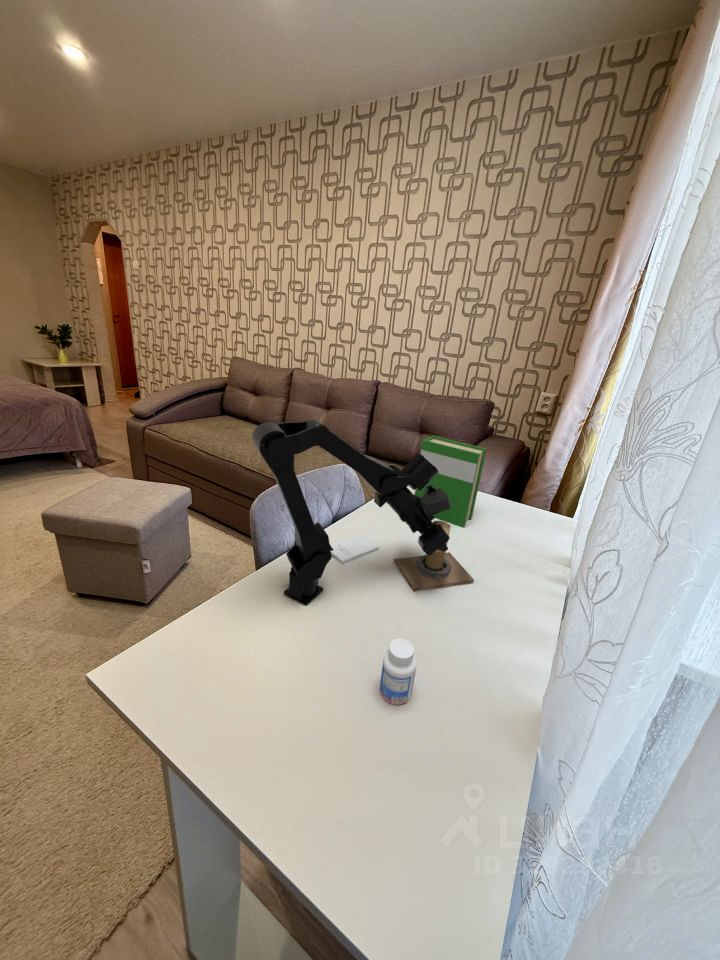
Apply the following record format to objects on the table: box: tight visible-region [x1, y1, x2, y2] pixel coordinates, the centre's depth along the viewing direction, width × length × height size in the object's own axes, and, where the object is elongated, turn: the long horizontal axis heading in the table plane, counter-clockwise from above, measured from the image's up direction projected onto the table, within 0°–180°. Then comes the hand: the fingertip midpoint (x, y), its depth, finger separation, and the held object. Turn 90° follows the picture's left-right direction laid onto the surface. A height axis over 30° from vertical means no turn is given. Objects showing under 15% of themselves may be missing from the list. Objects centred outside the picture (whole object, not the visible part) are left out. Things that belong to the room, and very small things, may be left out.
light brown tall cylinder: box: [425, 520, 451, 572], centre depth 96 cm, size 4×4×12 cm
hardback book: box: [414, 435, 488, 529], centre depth 124 cm, size 18×7×24 cm, turn 57°
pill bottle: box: [379, 638, 417, 705], centre depth 64 cm, size 6×5×10 cm
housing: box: [393, 551, 475, 593], centre depth 98 cm, size 16×12×2 cm
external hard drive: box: [330, 533, 380, 565], centre depth 105 cm, size 2×8×12 cm
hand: (442, 544), depth 96 cm, fingers closed on light brown tall cylinder, 4 cm apart
